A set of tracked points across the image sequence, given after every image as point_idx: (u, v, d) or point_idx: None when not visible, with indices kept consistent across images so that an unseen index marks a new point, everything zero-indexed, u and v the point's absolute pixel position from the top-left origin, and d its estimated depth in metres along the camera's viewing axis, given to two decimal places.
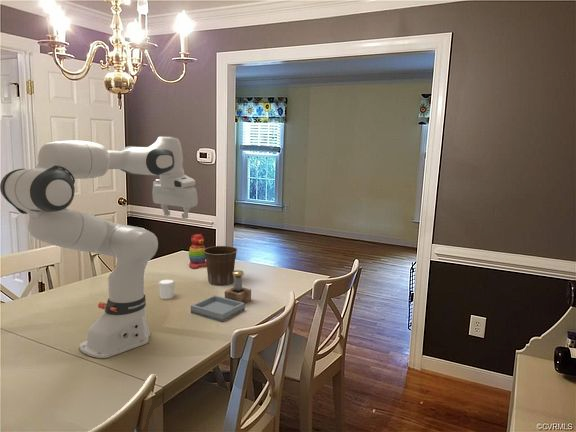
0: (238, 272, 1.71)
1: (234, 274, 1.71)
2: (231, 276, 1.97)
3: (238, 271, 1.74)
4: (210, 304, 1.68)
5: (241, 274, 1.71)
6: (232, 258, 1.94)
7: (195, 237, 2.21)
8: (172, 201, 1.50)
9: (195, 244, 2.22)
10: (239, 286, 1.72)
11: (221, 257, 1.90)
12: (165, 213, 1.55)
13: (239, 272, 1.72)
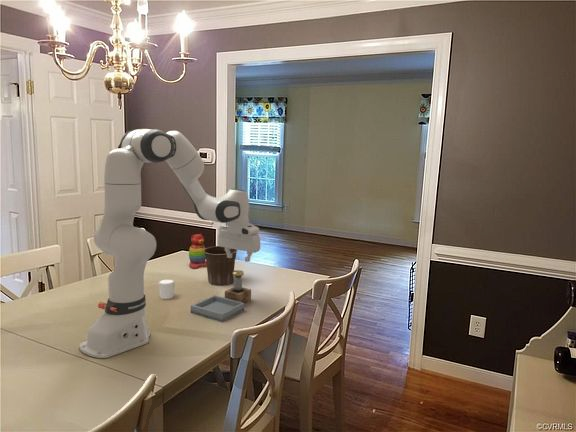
0: (238, 272, 1.71)
1: (234, 274, 1.71)
2: (231, 276, 1.97)
3: (238, 271, 1.74)
4: (210, 304, 1.68)
5: (241, 274, 1.71)
6: (232, 258, 1.94)
7: (195, 237, 2.21)
8: (237, 246, 1.69)
9: (195, 244, 2.22)
10: (239, 286, 1.72)
11: (221, 257, 1.90)
12: (228, 256, 1.73)
13: (239, 272, 1.72)
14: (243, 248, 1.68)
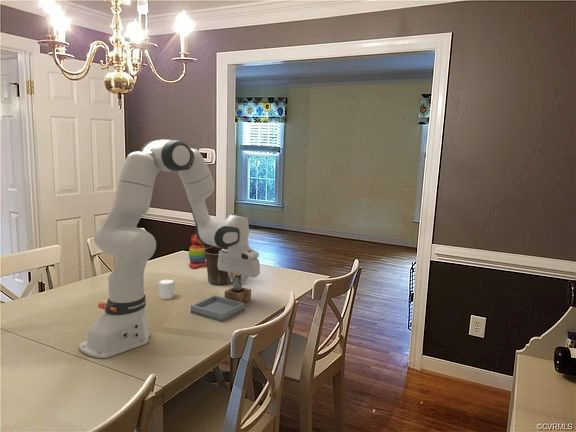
0: None
1: (234, 274, 1.71)
2: None
3: None
4: (210, 304, 1.68)
5: None
6: None
7: (195, 237, 2.21)
8: (236, 270, 1.71)
9: (195, 244, 2.22)
10: (239, 286, 1.72)
11: None
12: (231, 280, 1.74)
13: None
14: (243, 272, 1.69)
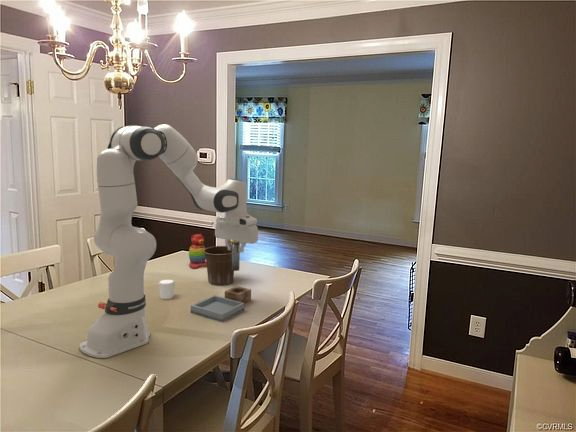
0: None
1: (232, 241, 1.68)
2: (231, 276, 1.97)
3: None
4: (210, 304, 1.68)
5: None
6: None
7: (195, 237, 2.21)
8: (234, 237, 1.67)
9: (195, 244, 2.22)
10: (237, 253, 1.69)
11: (221, 257, 1.90)
12: (229, 248, 1.70)
13: None
14: (240, 239, 1.66)
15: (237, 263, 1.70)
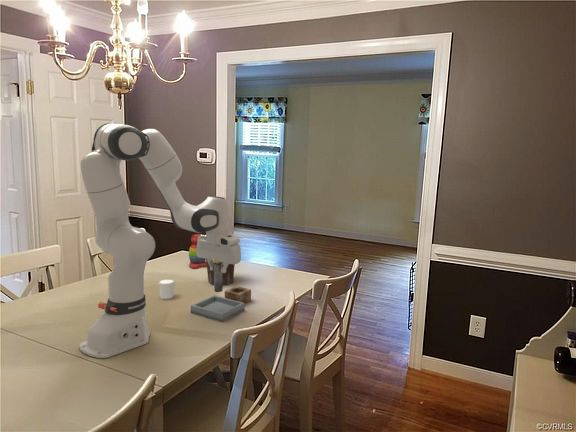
0: None
1: (214, 261, 1.59)
2: (231, 276, 1.97)
3: None
4: (210, 304, 1.68)
5: None
6: None
7: (195, 237, 2.21)
8: (216, 257, 1.58)
9: (195, 244, 2.22)
10: (219, 274, 1.60)
11: None
12: (211, 268, 1.62)
13: None
14: (222, 259, 1.57)
15: (220, 284, 1.61)
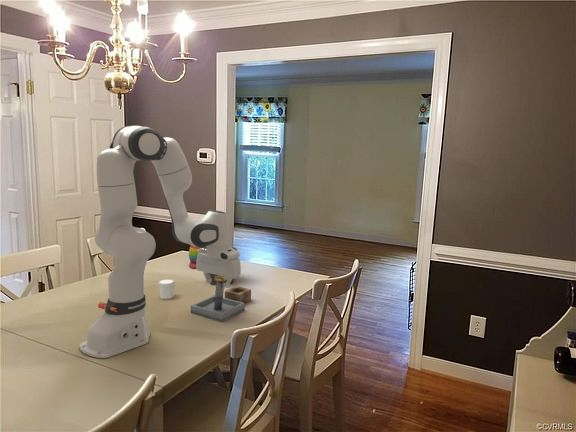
0: (221, 278, 1.61)
1: (216, 279, 1.60)
2: None
3: (221, 276, 1.63)
4: (210, 304, 1.68)
5: (224, 280, 1.60)
6: None
7: None
8: (216, 271, 1.59)
9: None
10: (220, 292, 1.61)
11: None
12: (207, 280, 1.63)
13: (222, 277, 1.61)
14: (222, 273, 1.58)
15: (220, 302, 1.62)
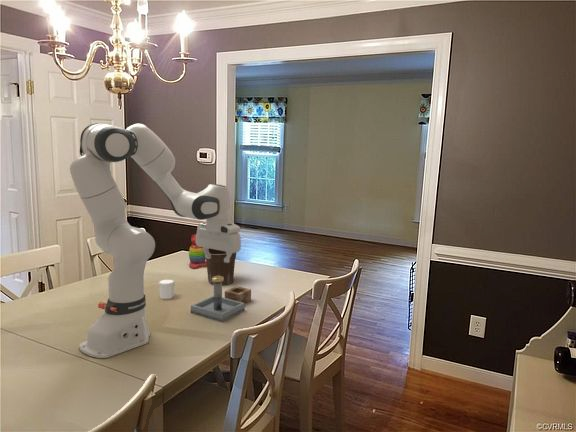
0: (218, 279, 1.60)
1: (213, 280, 1.59)
2: (231, 276, 1.97)
3: (218, 276, 1.62)
4: (210, 304, 1.68)
5: (221, 280, 1.60)
6: (232, 258, 1.94)
7: (195, 237, 2.21)
8: (215, 245, 1.57)
9: (195, 244, 2.22)
10: (219, 293, 1.61)
11: (221, 257, 1.90)
12: (206, 256, 1.62)
13: (219, 278, 1.60)
14: (222, 248, 1.56)
15: (219, 303, 1.62)
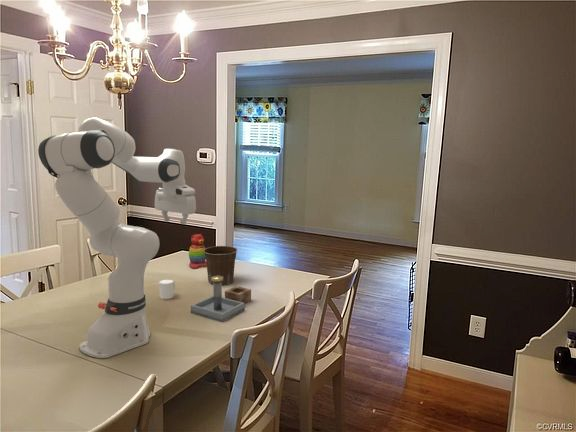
0: (217, 278, 1.60)
1: (213, 280, 1.60)
2: (231, 276, 1.97)
3: (218, 276, 1.63)
4: (210, 304, 1.68)
5: (220, 280, 1.60)
6: (232, 258, 1.94)
7: (195, 237, 2.21)
8: (172, 208, 1.64)
9: (195, 244, 2.22)
10: (218, 292, 1.61)
11: (221, 257, 1.90)
12: (165, 219, 1.69)
13: (218, 277, 1.61)
14: (178, 210, 1.63)
15: (219, 302, 1.62)
